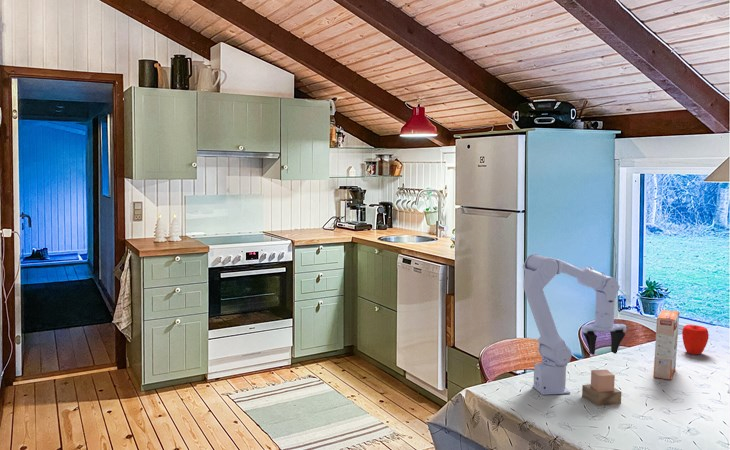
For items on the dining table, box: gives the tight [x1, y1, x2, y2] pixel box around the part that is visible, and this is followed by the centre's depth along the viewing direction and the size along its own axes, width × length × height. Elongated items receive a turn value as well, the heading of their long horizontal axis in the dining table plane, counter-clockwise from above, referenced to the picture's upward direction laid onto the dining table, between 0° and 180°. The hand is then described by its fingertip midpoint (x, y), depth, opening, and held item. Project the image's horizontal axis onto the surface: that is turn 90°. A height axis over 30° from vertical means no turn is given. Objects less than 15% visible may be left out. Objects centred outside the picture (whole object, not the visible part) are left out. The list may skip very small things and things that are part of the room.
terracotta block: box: [590, 369, 616, 392], centre depth 191 cm, size 5×5×5 cm
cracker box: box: [653, 309, 680, 381], centre depth 214 cm, size 14×6×21 cm, turn 148°
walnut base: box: [581, 383, 622, 407], centre depth 191 cm, size 8×8×4 cm
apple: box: [681, 324, 710, 355], centre depth 238 cm, size 9×9×11 cm
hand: (602, 353), depth 204 cm, fingers open, 7 cm apart
